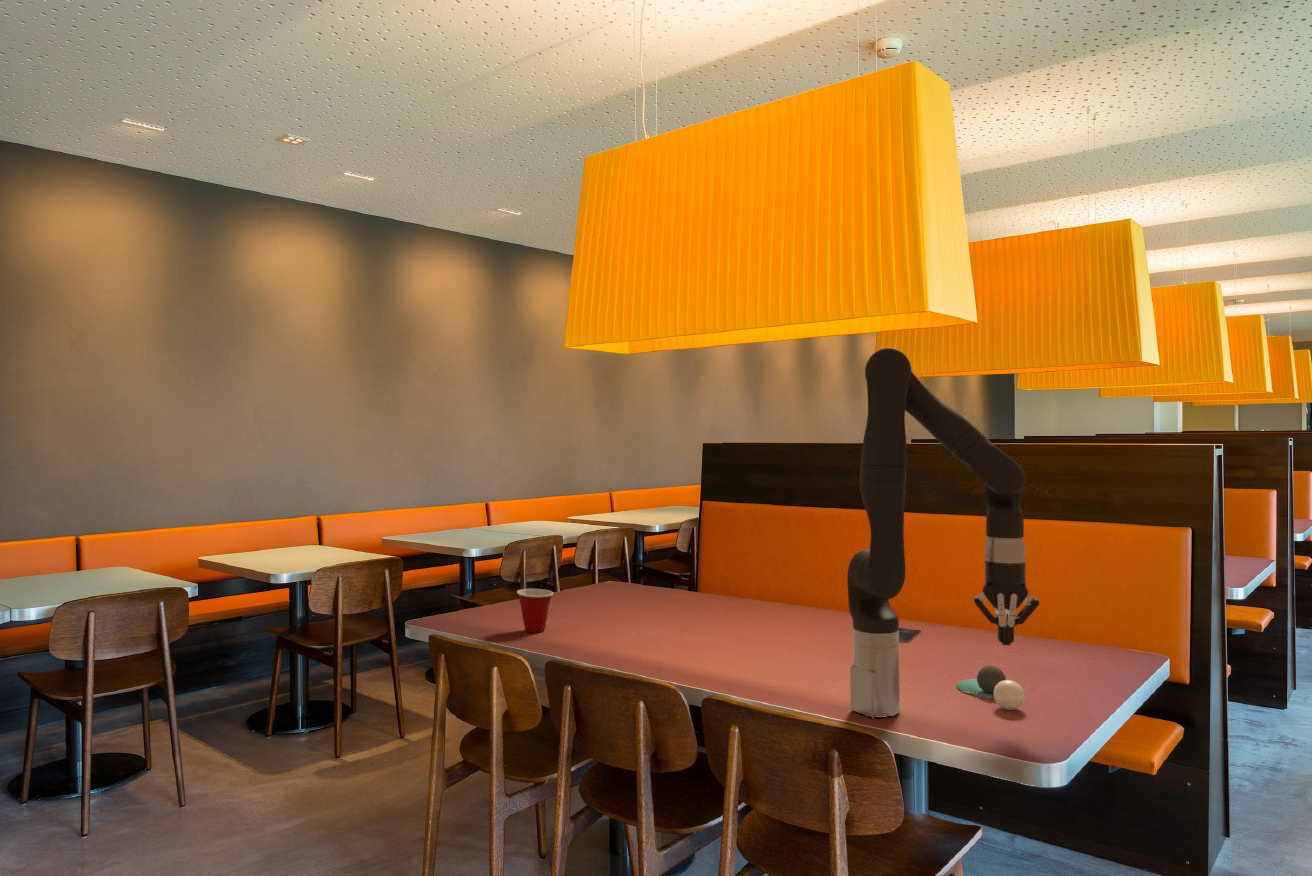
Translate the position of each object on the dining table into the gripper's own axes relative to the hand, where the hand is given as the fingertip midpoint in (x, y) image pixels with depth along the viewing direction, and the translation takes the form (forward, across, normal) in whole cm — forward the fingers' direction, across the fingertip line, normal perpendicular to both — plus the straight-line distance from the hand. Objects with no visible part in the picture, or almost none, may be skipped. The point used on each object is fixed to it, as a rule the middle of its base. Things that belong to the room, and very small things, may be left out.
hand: (1005, 644), depth 170 cm
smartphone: (+16, +15, -67) cm, 70 cm away
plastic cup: (+16, +121, -57) cm, 135 cm away
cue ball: (+12, -2, -6) cm, 13 cm away
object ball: (+12, 0, -16) cm, 20 cm away
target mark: (+15, 0, -19) cm, 24 cm away
